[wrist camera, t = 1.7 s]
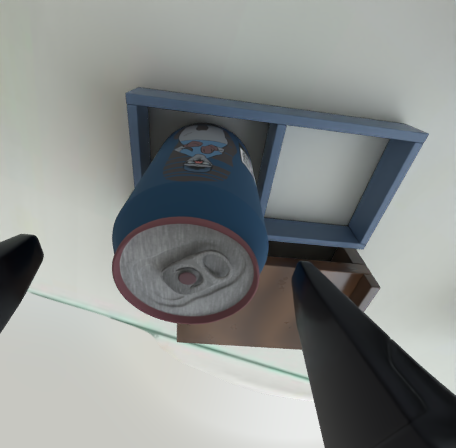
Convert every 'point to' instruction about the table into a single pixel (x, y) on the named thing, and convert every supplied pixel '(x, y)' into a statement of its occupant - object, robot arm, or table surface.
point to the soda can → (192, 230)
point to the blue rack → (278, 118)
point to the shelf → (282, 304)
